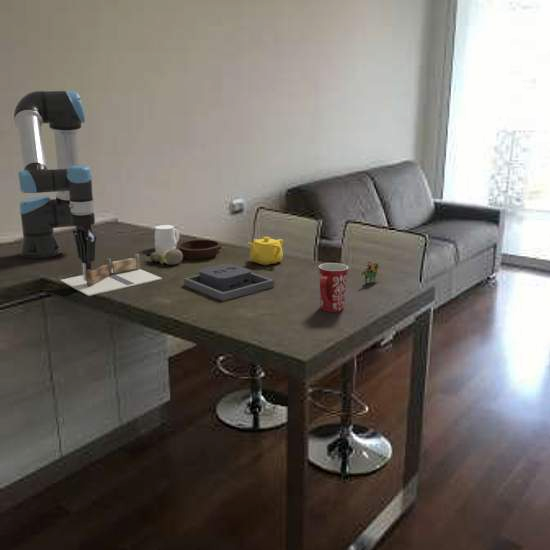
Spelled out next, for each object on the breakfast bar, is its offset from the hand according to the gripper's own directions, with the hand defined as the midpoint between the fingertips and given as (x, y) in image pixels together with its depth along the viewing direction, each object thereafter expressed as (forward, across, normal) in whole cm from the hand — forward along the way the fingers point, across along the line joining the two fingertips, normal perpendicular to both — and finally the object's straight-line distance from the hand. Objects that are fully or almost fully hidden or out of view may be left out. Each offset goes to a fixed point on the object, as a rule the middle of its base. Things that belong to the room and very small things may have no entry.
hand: (88, 279), depth 210 cm
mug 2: (+1, +73, +44) cm, 85 cm away
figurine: (+1, +64, +74) cm, 98 cm away
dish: (+2, -6, +51) cm, 52 cm away
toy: (+2, -7, +36) cm, 36 cm away
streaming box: (+2, +31, +36) cm, 47 cm away
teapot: (+2, +20, +64) cm, 67 cm away
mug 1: (+2, -25, +48) cm, 55 cm away
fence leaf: (+1, 0, +4) cm, 4 cm away
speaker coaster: (+1, +34, +35) cm, 49 cm away
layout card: (+2, +1, +8) cm, 9 cm away
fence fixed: (+2, -4, +16) cm, 17 cm away
